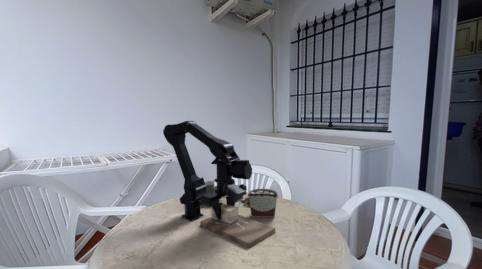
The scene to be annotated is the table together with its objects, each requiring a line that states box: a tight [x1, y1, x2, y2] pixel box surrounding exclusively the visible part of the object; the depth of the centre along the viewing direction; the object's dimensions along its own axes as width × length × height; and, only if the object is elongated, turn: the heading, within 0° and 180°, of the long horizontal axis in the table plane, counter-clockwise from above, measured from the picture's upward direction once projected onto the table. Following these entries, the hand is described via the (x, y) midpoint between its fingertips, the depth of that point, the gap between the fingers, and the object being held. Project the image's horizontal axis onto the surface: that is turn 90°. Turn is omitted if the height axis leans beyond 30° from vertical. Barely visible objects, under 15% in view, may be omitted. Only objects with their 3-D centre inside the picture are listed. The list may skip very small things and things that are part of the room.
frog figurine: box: [235, 196, 250, 208], centre depth 113 cm, size 12×12×4 cm
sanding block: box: [210, 203, 239, 225], centre depth 90 cm, size 9×5×5 cm, turn 54°
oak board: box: [199, 214, 276, 249], centre depth 87 cm, size 24×14×2 cm, turn 48°
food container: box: [247, 188, 279, 218], centre depth 99 cm, size 12×6×10 cm, turn 84°
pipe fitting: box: [199, 180, 217, 204], centre depth 114 cm, size 12×8×10 cm, turn 88°
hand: (224, 217), depth 91 cm, fingers closed on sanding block, 5 cm apart
